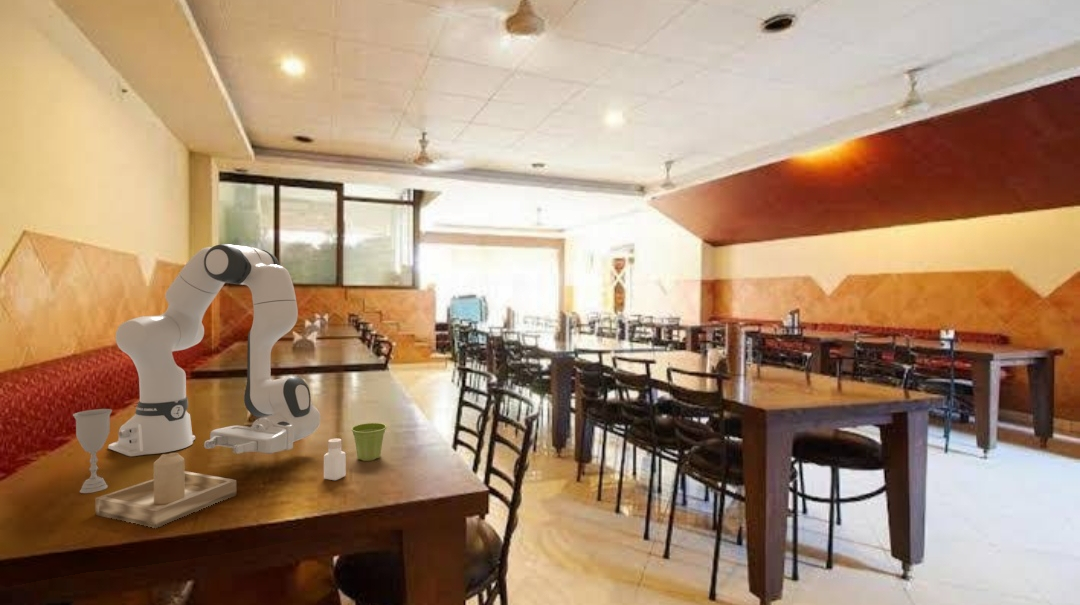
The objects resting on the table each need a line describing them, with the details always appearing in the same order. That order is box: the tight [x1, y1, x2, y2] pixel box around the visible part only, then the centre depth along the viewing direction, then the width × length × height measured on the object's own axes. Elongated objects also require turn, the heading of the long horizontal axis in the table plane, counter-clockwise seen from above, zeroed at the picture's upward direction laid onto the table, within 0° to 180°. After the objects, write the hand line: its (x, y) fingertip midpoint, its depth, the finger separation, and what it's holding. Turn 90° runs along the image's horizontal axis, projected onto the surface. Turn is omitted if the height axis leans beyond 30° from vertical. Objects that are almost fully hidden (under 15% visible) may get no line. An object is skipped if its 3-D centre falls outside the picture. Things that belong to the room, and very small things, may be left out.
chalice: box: [72, 408, 113, 494], centre depth 123 cm, size 7×7×18 cm
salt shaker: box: [323, 438, 347, 481], centre depth 132 cm, size 4×4×10 cm
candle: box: [153, 452, 186, 505], centre depth 114 cm, size 6×6×10 cm
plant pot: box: [350, 422, 388, 462], centre depth 147 cm, size 9×9×9 cm
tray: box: [94, 470, 237, 530], centre depth 115 cm, size 18×18×4 cm
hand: (220, 447), depth 126 cm, fingers open, 8 cm apart
